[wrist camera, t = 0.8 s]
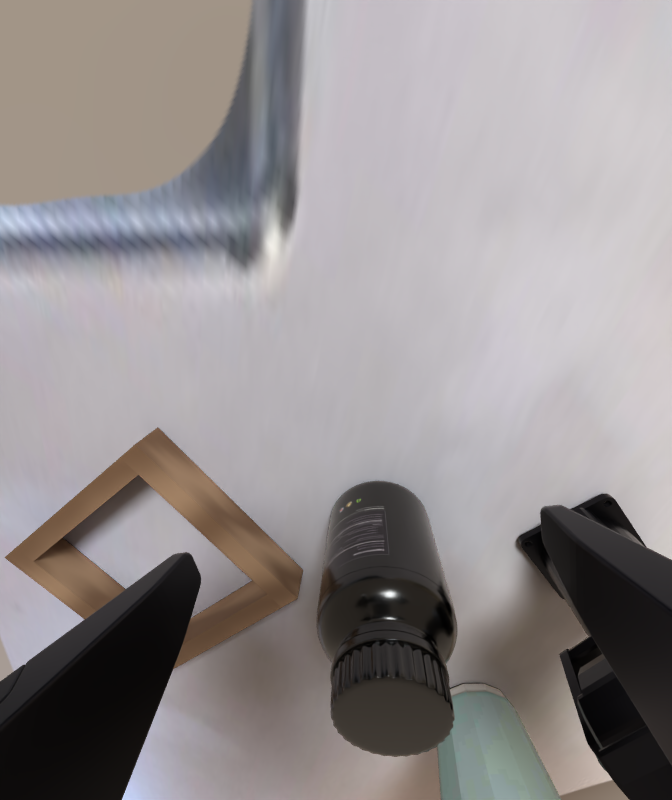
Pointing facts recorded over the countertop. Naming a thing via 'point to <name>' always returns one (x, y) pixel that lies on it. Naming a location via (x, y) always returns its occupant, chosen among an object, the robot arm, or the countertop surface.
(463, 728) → the disposable coffee cup
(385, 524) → the supplement bottle
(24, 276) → the countertop surface
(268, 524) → the countertop surface
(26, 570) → the square wooden frame
